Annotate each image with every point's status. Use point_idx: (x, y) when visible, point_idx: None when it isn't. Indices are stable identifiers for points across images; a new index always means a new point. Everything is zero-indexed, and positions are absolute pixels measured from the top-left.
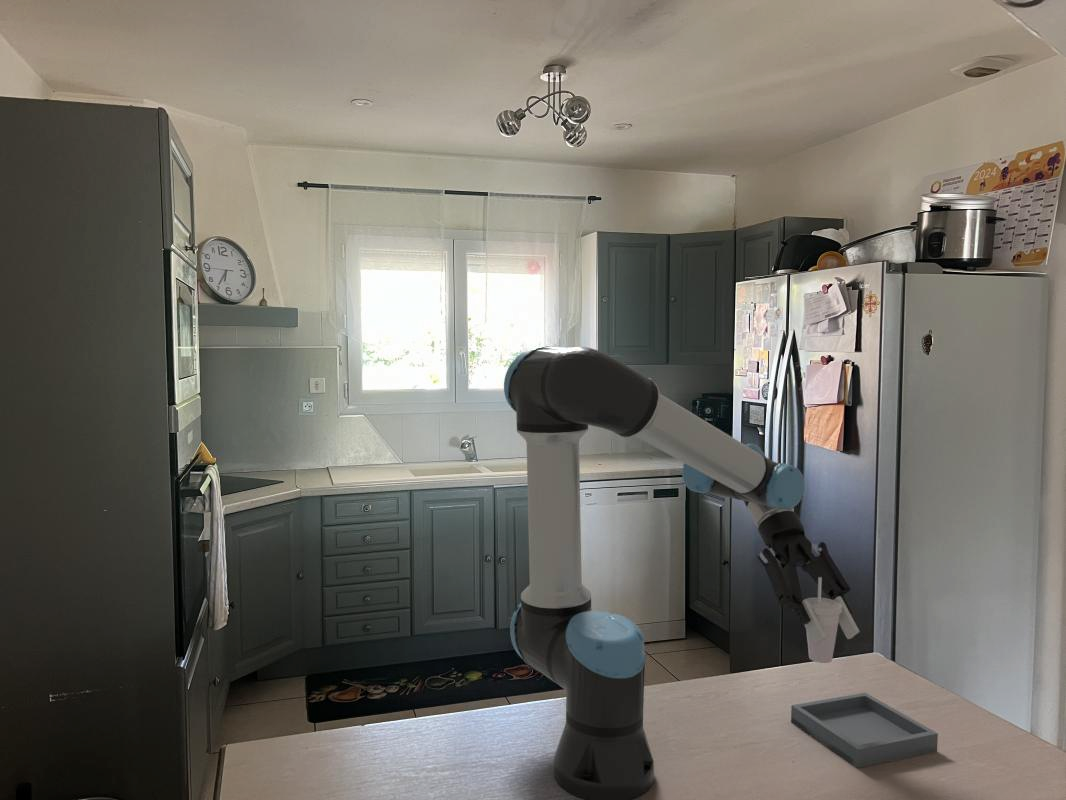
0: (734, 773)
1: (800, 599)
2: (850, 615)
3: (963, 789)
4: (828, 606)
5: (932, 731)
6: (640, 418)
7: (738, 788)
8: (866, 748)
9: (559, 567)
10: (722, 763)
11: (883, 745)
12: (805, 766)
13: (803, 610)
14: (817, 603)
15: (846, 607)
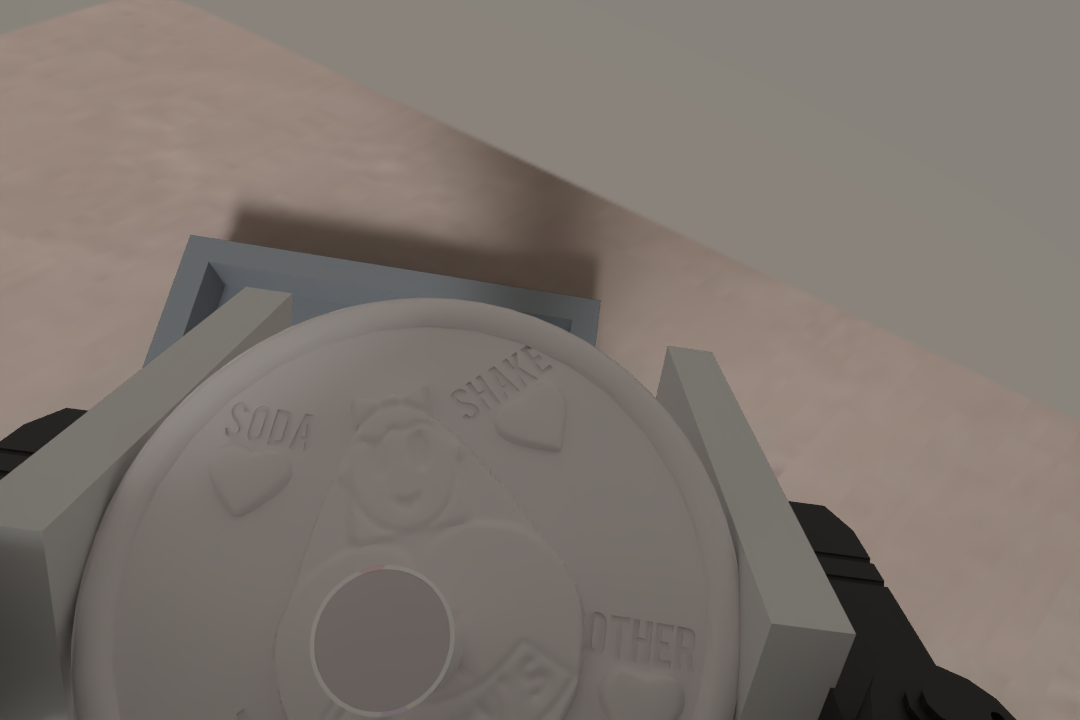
0: (1034, 513)
1: (934, 683)
2: (171, 353)
3: (389, 108)
4: (451, 436)
5: (192, 253)
6: None
7: (1066, 433)
8: (558, 295)
9: None
10: (1044, 593)
11: (474, 282)
12: (754, 427)
13: (838, 599)
14: (543, 588)
15: (103, 404)
